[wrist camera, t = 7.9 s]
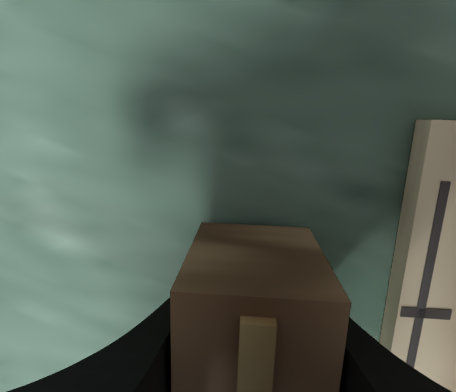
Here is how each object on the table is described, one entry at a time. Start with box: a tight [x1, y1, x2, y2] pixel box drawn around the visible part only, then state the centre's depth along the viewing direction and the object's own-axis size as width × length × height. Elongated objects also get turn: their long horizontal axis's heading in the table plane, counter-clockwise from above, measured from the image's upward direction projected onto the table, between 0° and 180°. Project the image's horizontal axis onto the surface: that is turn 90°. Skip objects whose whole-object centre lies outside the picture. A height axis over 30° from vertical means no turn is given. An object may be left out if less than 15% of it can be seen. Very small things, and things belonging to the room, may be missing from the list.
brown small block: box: [170, 222, 351, 392], centre depth 10 cm, size 4×6×5 cm, turn 178°
